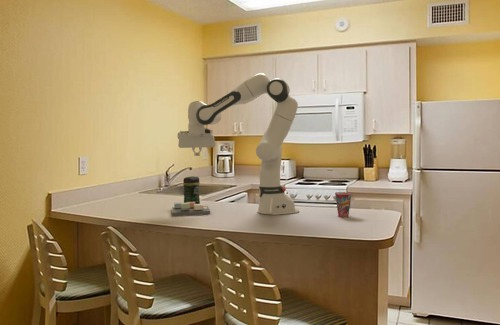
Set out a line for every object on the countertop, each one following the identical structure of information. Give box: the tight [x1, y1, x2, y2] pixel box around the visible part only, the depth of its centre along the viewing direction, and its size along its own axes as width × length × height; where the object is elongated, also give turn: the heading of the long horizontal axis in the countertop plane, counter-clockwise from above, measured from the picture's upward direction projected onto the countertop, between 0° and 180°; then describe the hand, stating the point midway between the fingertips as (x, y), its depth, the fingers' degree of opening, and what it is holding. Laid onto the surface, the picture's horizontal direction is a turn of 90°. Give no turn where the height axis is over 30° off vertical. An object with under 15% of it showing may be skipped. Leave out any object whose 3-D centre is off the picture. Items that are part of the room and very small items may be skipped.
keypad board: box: [171, 205, 211, 217], centre depth 244 cm, size 20×18×2 cm
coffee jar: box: [182, 175, 201, 204], centre depth 259 cm, size 10×8×19 cm
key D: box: [173, 201, 183, 208], centre depth 247 cm, size 4×4×2 cm
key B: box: [181, 202, 190, 209], centre depth 239 cm, size 4×4×2 cm
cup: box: [334, 191, 355, 219], centre depth 223 cm, size 9×8×12 cm
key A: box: [194, 203, 204, 210], centre depth 240 cm, size 4×4×2 cm
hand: (197, 155), depth 246 cm, fingers closed
